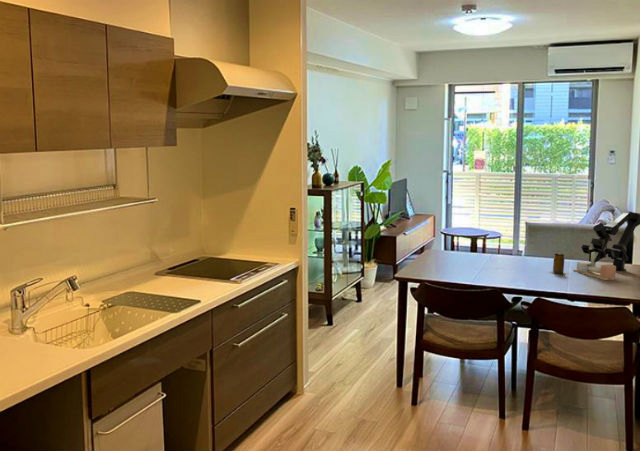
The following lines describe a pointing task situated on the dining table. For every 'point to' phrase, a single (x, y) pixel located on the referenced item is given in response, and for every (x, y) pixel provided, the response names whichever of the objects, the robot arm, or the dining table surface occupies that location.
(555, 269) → the condiment
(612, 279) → the base rail
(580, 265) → the sleeve
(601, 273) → the socket
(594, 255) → the beige cradle bracket
